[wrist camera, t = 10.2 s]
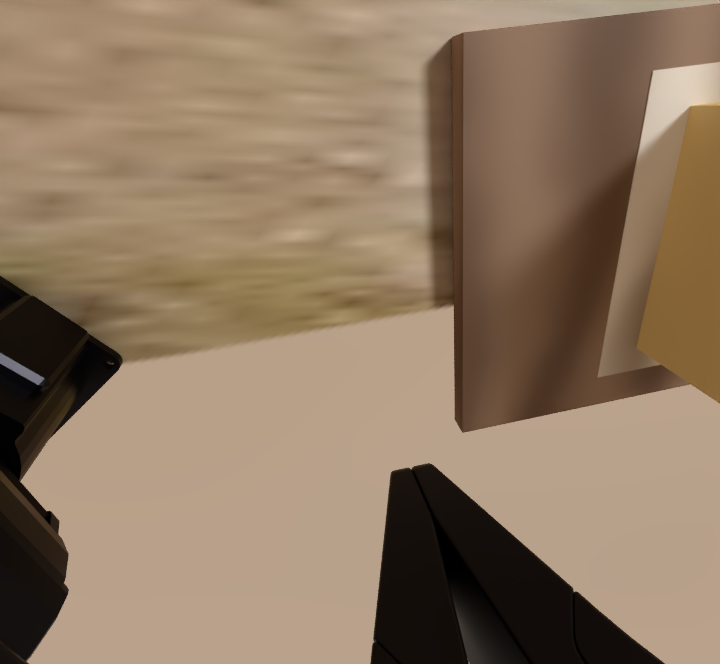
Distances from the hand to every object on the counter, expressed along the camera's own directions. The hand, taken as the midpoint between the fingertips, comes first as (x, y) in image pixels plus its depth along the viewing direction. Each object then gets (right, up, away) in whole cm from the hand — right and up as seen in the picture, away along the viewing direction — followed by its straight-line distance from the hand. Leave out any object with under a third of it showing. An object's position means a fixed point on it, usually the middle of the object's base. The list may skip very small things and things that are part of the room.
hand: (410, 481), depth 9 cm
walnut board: (+16, +8, +14) cm, 23 cm away
